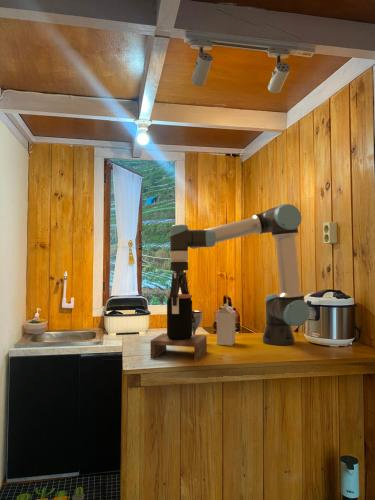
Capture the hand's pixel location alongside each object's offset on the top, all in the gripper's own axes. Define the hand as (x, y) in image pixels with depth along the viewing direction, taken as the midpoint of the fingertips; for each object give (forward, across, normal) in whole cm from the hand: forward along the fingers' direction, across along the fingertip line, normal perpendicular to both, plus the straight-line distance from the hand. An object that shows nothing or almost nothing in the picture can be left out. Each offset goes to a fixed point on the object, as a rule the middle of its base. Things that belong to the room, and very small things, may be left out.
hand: (180, 311), depth 157 cm
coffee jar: (+11, 0, 0) cm, 11 cm away
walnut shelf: (+18, 0, 0) cm, 18 cm away
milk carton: (+18, -25, +16) cm, 35 cm away
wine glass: (+18, -22, +1) cm, 28 cm away
